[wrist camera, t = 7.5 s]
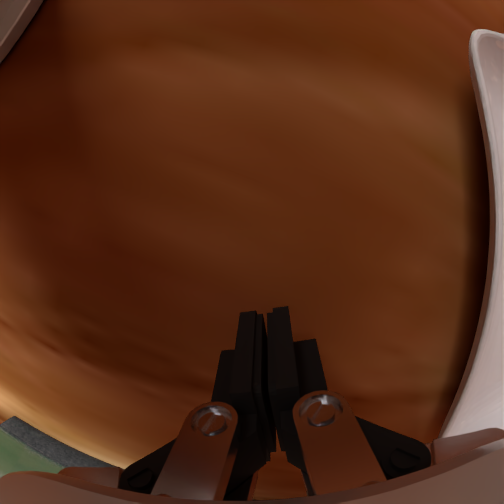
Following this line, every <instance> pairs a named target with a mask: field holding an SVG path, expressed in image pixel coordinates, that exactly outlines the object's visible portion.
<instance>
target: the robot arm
mask: <svg viewBox="0 0 504 504" xmlns="http://www.w3.org/2000/svg"><path fill="white" fill-rule="evenodd" d="M42 2H43V0H0V63H1V62H2V60H3V59H4V58H5V57H6V55H7V54H8V53H9V51H10V50H11V48H12V47H13V46H14V44H15V43H16V41H17V40H18V39H19V37H20V36H21V35H22V33H23V32H24V30H25V28H26V27H27V25H28V24H29V22H30V21H31V20H32V18H33V17H34V15H35V14H36V12H37V10H38V9H39V7H40V5H41V4H42ZM276 430H277V434H278V439H279V443H280V448H281V451H286V456H287V460H288V462H289V463H291V464H293V465H294V466H296V467H298V468H299V469H301V475H302V478H303V482H304V485H305V489H306V492H307V497H299V498H289V499H277V500H260V501H252V500H253V495H254V491H255V487H256V482H257V478H258V470H259V469H260V468H261V467H262V466H264V465H265V464H266V461H270V452H276ZM0 504H504V430H502V429H499V428H496V427H495V428H487V429H483V430H479V431H475V432H470V433H466V434H461V435H456V436H451V437H445V438H439V439H433V441H432V443H427V444H423V443H422V442H420V441H418V440H415V439H412V438H410V437H407V436H404V435H401V434H399V433H396V432H393V431H391V430H388V429H386V428H383V427H381V426H378V425H376V424H373V423H371V422H368V421H366V420H363V419H361V418H359V417H356V416H354V414H353V412H352V410H351V408H350V406H349V404H348V402H347V401H346V399H345V398H344V397H343V396H341V395H340V394H338V393H336V392H332V391H328V390H327V385H326V381H325V377H324V372H323V368H322V364H321V360H320V355H319V351H318V347H317V343H316V339H310V340H303V341H297V342H293V338H292V331H291V323H290V316H289V309H288V306H285V307H278V308H273V312H272V313H267V334H266V328H265V323H264V318H263V314H257V312H256V311H249V312H241V313H240V317H239V324H238V331H237V338H236V346H235V349H234V350H224V351H222V352H221V355H220V360H219V365H218V370H217V375H216V380H215V385H214V390H213V395H212V400H211V402H208V403H205V404H202V405H200V406H198V407H196V408H194V409H193V410H192V411H191V412H190V413H189V415H188V416H187V417H186V419H185V422H184V424H183V426H182V428H181V430H180V432H179V435H178V437H177V438H176V439H174V440H173V441H171V442H169V443H168V444H166V445H164V446H163V447H161V448H159V449H158V450H156V451H154V452H153V453H151V454H149V455H147V456H146V457H144V458H142V459H140V460H139V461H137V462H135V463H133V464H131V465H130V466H129V467H127V468H126V469H125V470H122V469H121V468H120V467H66V468H64V469H62V470H60V471H59V473H58V474H55V473H49V472H42V471H18V472H12V473H8V474H6V475H4V476H2V477H1V478H0Z"/></svg>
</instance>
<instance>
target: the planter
mask: <svg viewBox="0 0 504 504" xmlns="http://www.w3.org/2000/svg"><path fill="white" fill-rule="evenodd" d="M66 467H116V466H113V465H111V464H108V463H106V462H103V461H101V460H98V459H96V458H94V457H91V456H89V455H87V454H85V453H82V452H80V451H78V450H76V449H74V448H72V447H70V446H68V445H66V444H64V443H62V442H60V441H58V440H56V439H54V438H52V437H50V436H48V435H47V434H45V433H43V432H41V431H39V430H38V429H36V428H34V427H32V426H31V425H29V424H27V423H26V422H24V421H22V420H21V419H19V418H17V417H15V416H13V417H11V418H9V419H8V420H6V421H5V422H3V423H2V424H0V478H1V477H2V476H4V475H6V474H8V473H12V472H18V471H42V472H49V473H55V474H58V473H59V471H60V470H62V469H64V468H66ZM122 470H124V469H122ZM252 501H260V500H252Z"/></svg>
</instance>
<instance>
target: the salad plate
mask: <svg viewBox="0 0 504 504" xmlns="http://www.w3.org/2000/svg"><path fill="white" fill-rule="evenodd" d="M469 65H470V74H471V79H472V84H473V89H474V94H475V98H476V103H477V108H478V113H479V118H480V123H481V128H482V134H483V140H484V146H485V153H486V161H487V170H488V180H489V197H490V237H489V254H488V265H487V275H486V283H485V290H484V296H483V301H482V307H481V312H480V317H479V321H478V326H477V330H476V334H475V338H474V342H473V346H472V349H471V353H470V356H469V359H468V362H467V365H466V369H465V371H464V374H463V377H462V380H461V383H460V386H459V388H458V391H457V393H456V396H455V398H454V400H453V403H452V405H451V407H450V410H449V412H448V414H447V416H446V418H445V421H444V423H443V425H442V428H441V430H440V433H439V436H438V439H439V438H445V437H451V436H456V435H461V434H466V433H470V432H475V431H479V430H483V429H487V428H495V427H496V428H499V429H502V430H504V34H501V33H497V32H494V31H490V30H484V29H479V30H475V31H473V32H472V34H471V37H470V42H469Z"/></svg>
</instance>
